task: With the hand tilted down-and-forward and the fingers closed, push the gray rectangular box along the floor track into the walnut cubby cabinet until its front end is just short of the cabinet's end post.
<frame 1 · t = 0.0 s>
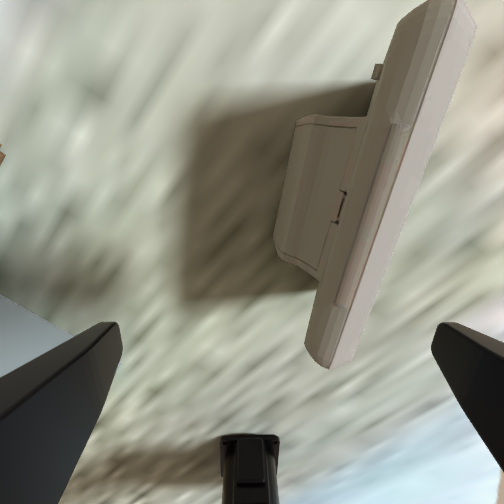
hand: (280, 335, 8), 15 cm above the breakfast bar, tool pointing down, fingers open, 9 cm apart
gray rectangular box: (32, 331, 25), on the breakfast bar
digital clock: (335, 191, 21), on the breakfast bar
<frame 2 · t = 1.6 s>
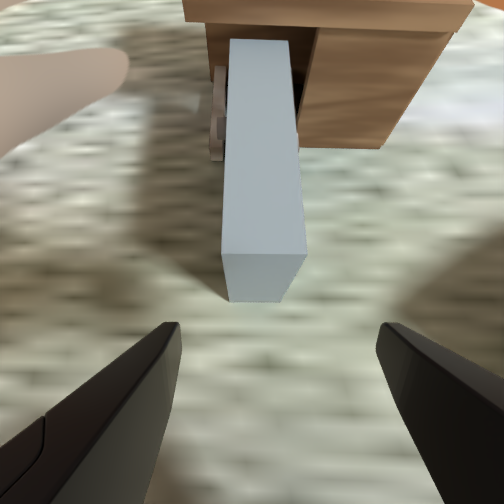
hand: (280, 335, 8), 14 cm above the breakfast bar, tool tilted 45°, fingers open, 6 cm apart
cubby cabinet: (253, 138, 28), on the breakfast bar
gray rectangular box: (254, 215, 25), on the breakfast bar
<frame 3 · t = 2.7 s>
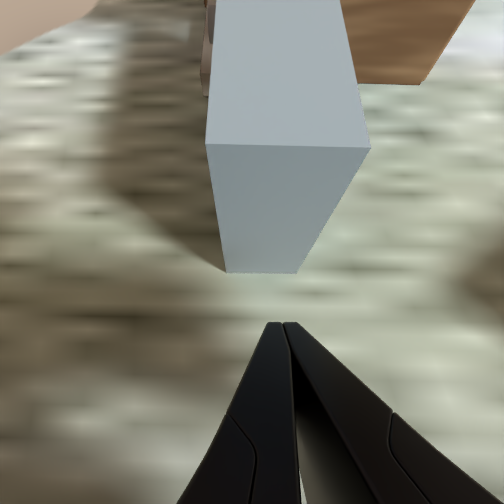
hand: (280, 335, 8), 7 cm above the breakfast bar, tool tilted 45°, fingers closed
cubby cabinet: (258, 71, 22), on the breakfast bar
gray rectangular box: (259, 162, 19), on the breakfast bar
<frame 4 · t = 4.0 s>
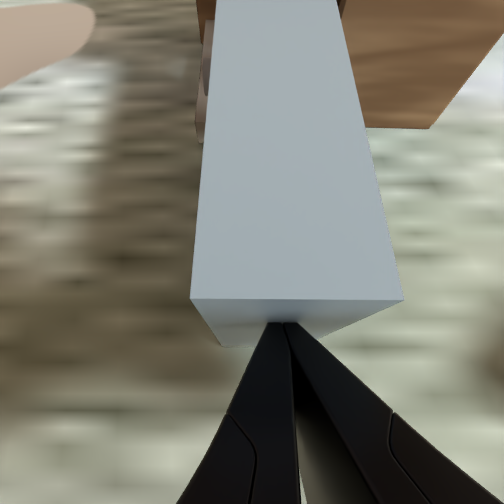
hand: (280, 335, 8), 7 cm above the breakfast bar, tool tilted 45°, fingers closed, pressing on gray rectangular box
cubby cabinet: (257, 114, 21), on the breakfast bar
gray rectangular box: (259, 213, 17), on the breakfast bar, touching gripper
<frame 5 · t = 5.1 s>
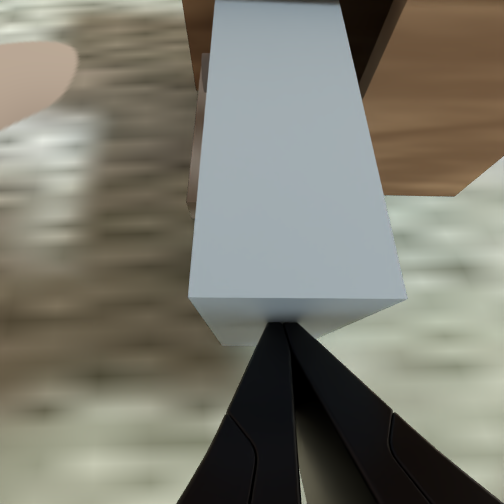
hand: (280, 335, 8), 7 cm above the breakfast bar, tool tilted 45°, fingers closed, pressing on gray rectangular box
cubby cabinet: (259, 180, 18), on the breakfast bar
gray rectangular box: (259, 211, 17), on the breakfast bar, touching gripper
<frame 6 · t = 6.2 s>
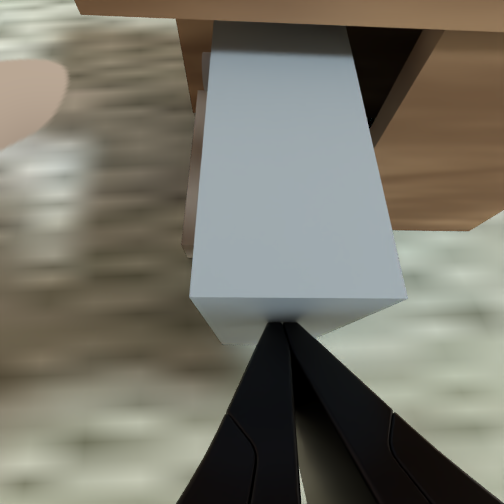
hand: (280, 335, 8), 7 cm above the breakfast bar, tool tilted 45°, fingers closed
cubby cabinet: (260, 213, 17), on the breakfast bar
gray rectangular box: (259, 210, 17), on the breakfast bar
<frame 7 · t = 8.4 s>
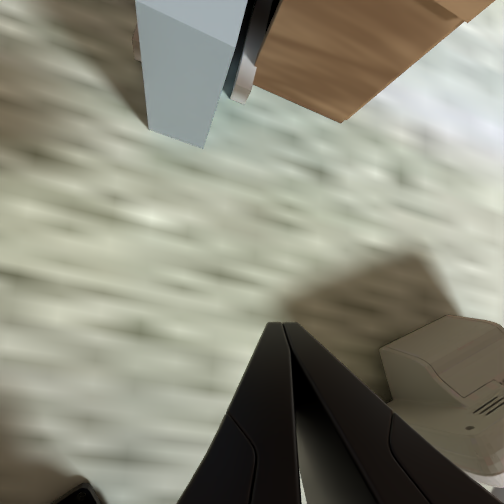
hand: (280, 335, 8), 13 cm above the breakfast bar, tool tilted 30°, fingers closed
cubby cabinet: (201, 49, 21), on the breakfast bar
gray rectangular box: (202, 46, 22), on the breakfast bar
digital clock: (423, 371, 26), on the breakfast bar
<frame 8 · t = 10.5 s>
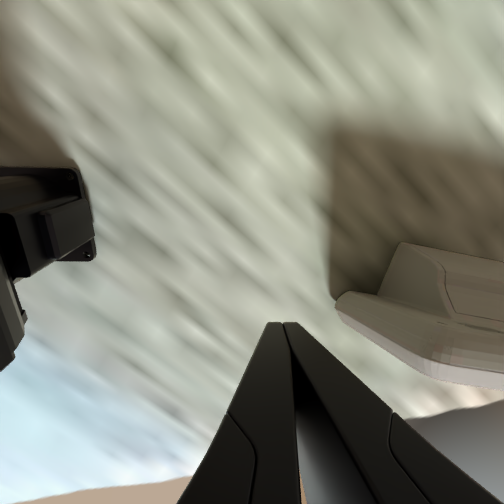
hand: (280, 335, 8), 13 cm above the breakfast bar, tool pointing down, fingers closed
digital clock: (426, 295, 23), on the breakfast bar
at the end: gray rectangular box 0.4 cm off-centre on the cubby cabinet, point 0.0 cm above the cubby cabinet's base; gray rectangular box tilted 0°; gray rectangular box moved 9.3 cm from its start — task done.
